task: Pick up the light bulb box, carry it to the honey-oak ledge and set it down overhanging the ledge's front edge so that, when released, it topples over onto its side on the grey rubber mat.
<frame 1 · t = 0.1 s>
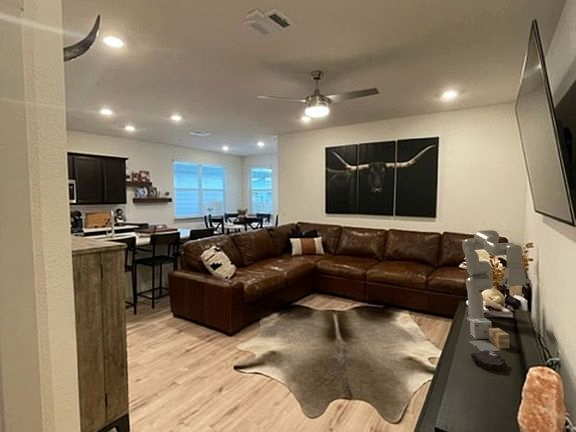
hand: (515, 295, 188), 31 cm above the table, fingers open, 9 cm apart
thermos: (476, 312, 249), on the table
light bulb box: (481, 337, 207), on the table
grey mat: (484, 346, 194), on the table
oak ledge: (499, 344, 194), on the table
rock sample: (488, 364, 173), on the table
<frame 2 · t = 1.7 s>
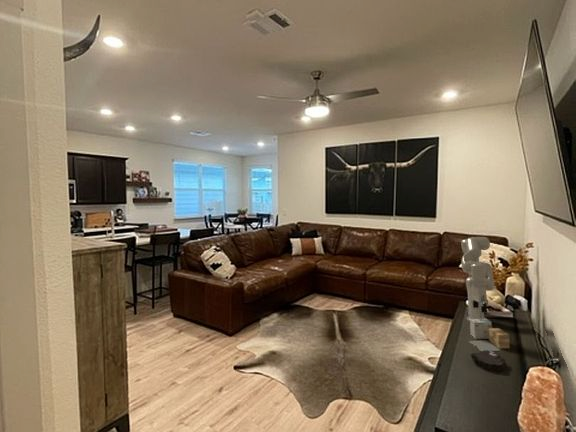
hand: (480, 309, 206), 18 cm above the table, fingers open, 9 cm apart
nothing on the table moved.
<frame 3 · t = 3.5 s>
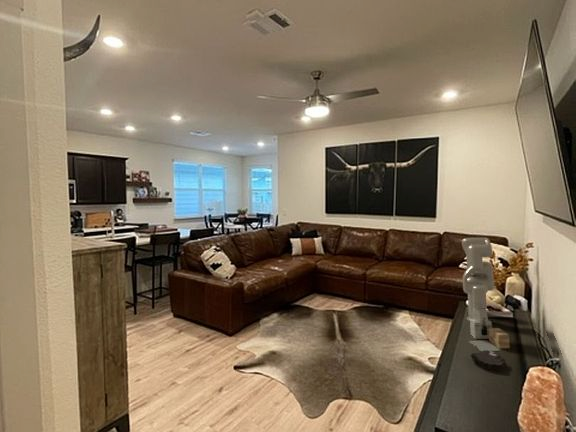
hand: (481, 332, 206), 3 cm above the table, fingers closed on light bulb box, 6 cm apart
light bulb box: (481, 337, 206), on the table, touching gripper
everything else where it was.
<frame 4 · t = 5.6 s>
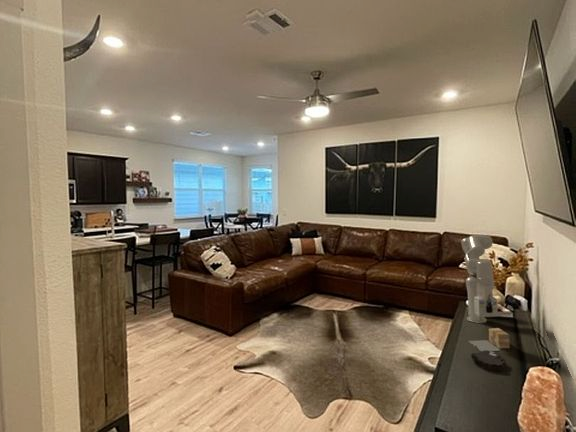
hand: (485, 310, 196), 20 cm above the table, fingers closed on light bulb box, 6 cm apart
light bulb box: (486, 315, 196), point 17 cm above the table, touching gripper
everything else where it was.
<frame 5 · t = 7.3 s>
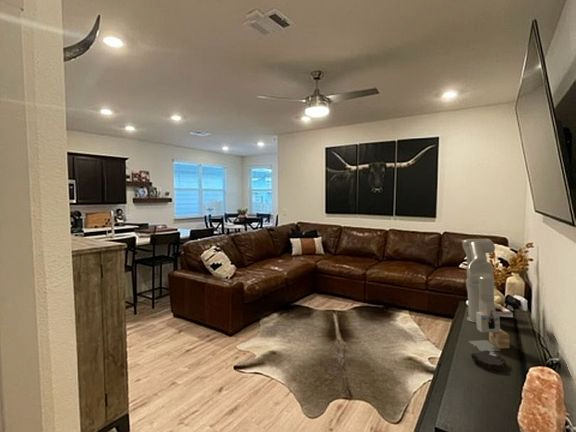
hand: (488, 325, 194), 12 cm above the table, fingers closed on light bulb box, 6 cm apart
light bulb box: (488, 330, 194), point 9 cm above the table, touching gripper
everything else where it was.
when the fingers open (12 cm above the table, at t = 7.8 s): light bulb box drops 3 cm, resting on grey mat.
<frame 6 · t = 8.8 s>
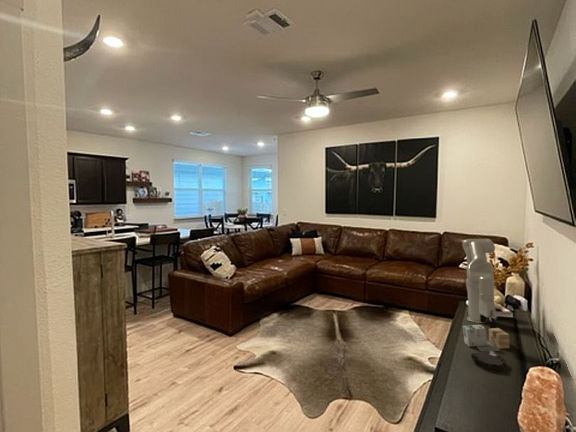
hand: (488, 324, 194), 12 cm above the table, fingers open, 9 cm apart
light bulb box: (484, 335, 195), point 6 cm above the table, touching grey mat
everything else where it was.
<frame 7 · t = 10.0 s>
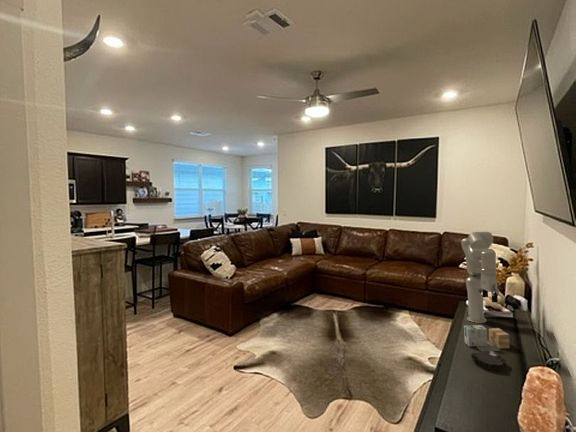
hand: (489, 299, 194), 28 cm above the table, fingers open, 9 cm apart
nothing on the table moved.
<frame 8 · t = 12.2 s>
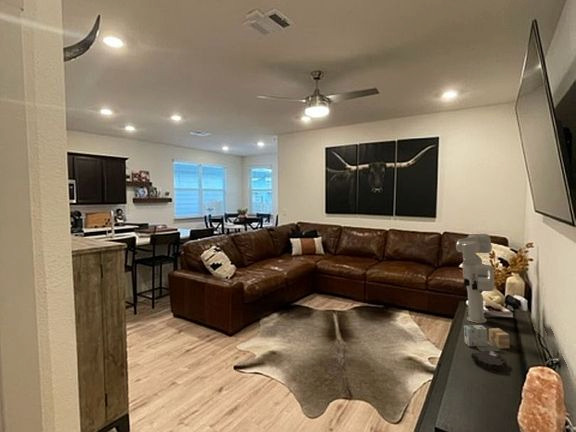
hand: (470, 287, 212), 30 cm above the table, fingers open, 9 cm apart
thermos: (476, 312, 249), on the table, touching arm
everything else where it was.
at the end: light bulb box tilted 89°; light bulb box inside the target area (6.2 cm from its centre), point 5.5 cm above the table; the gripper is holding nothing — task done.
